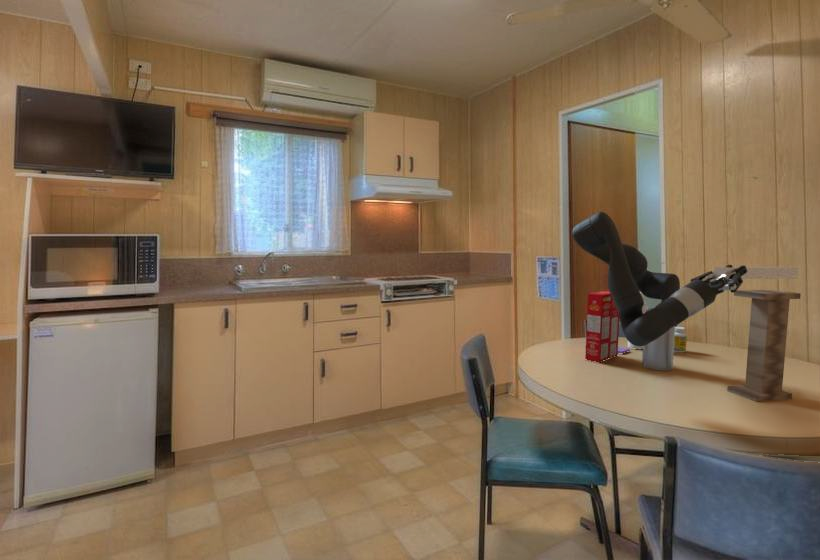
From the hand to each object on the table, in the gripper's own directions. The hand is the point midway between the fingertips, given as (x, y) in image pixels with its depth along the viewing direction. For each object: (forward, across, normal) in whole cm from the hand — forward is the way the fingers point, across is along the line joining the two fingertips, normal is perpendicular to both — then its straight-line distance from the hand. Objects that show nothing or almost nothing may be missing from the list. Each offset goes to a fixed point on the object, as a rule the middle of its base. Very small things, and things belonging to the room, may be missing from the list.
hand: (738, 268), depth 121 cm
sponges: (-18, -54, -33) cm, 66 cm away
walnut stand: (-10, 0, -37) cm, 38 cm away
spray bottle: (-7, -55, -39) cm, 68 cm away
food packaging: (-28, -44, -27) cm, 58 cm away
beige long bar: (+4, 0, -6) cm, 7 cm away
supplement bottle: (+5, -48, -46) cm, 66 cm away
